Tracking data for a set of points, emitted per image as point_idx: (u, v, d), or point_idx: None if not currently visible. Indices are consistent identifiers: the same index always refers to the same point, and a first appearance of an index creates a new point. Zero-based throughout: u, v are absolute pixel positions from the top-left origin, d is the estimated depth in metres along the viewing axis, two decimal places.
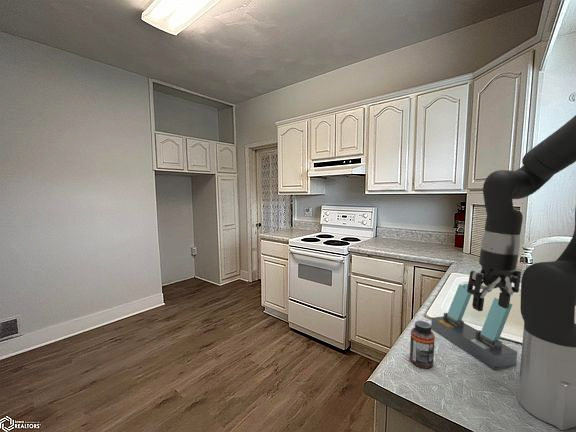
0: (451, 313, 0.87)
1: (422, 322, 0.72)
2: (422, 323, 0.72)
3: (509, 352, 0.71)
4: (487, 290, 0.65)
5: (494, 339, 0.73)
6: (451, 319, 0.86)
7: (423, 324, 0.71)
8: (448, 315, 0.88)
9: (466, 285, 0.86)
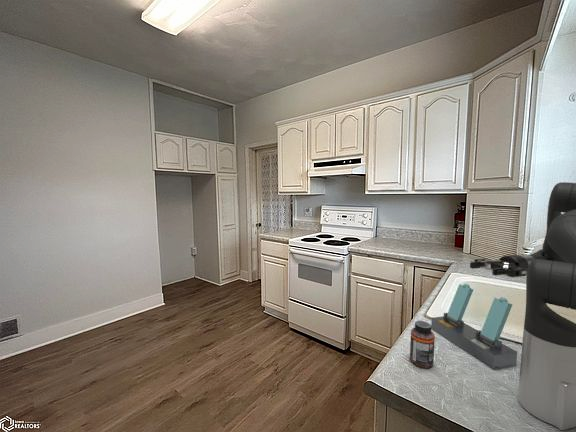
0: (451, 313, 0.87)
1: (422, 322, 0.72)
2: (422, 323, 0.72)
3: (509, 352, 0.71)
4: (485, 260, 0.93)
5: (494, 339, 0.73)
6: (451, 319, 0.86)
7: (423, 324, 0.71)
8: (448, 315, 0.88)
9: (466, 285, 0.86)
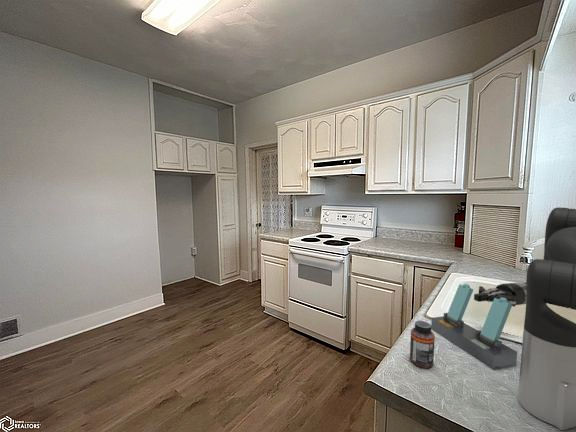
0: (451, 313, 0.87)
1: (422, 322, 0.72)
2: (422, 323, 0.72)
3: (509, 352, 0.71)
4: (487, 291, 0.91)
5: (494, 339, 0.73)
6: (451, 319, 0.86)
7: (423, 324, 0.71)
8: (448, 315, 0.88)
9: (466, 285, 0.86)
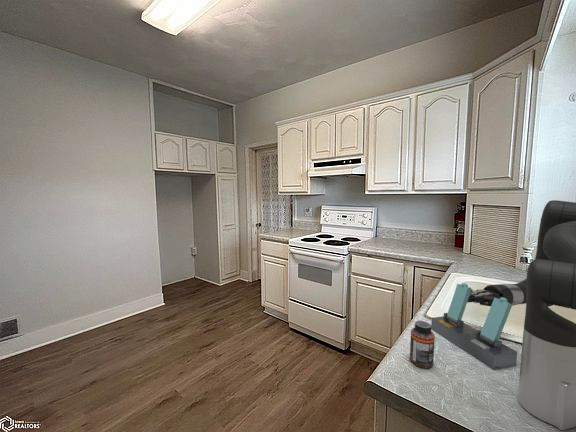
0: (451, 313, 0.87)
1: (422, 322, 0.72)
2: (422, 323, 0.72)
3: (509, 352, 0.71)
4: (474, 292, 0.89)
5: (494, 339, 0.73)
6: (451, 319, 0.86)
7: (423, 324, 0.71)
8: (447, 315, 0.88)
9: (464, 284, 0.86)
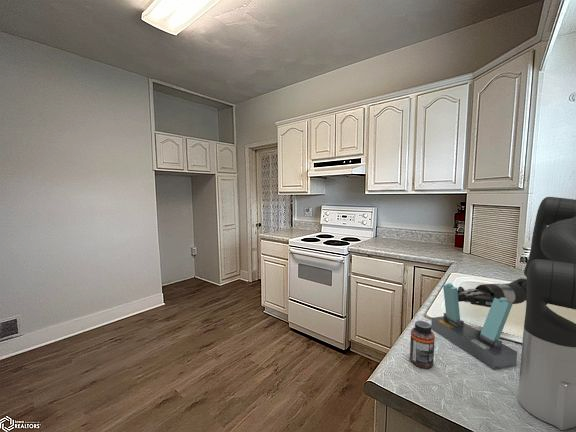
0: (449, 314, 0.87)
1: (422, 322, 0.72)
2: (422, 323, 0.72)
3: (509, 352, 0.71)
4: (465, 291, 0.88)
5: (494, 339, 0.73)
6: (451, 320, 0.86)
7: (423, 324, 0.71)
8: (447, 316, 0.88)
9: (449, 286, 0.85)
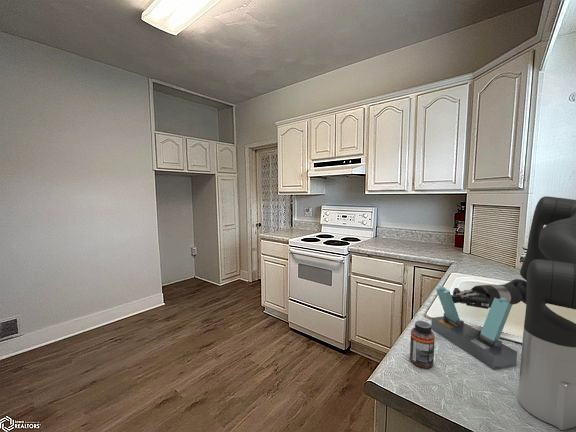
0: (448, 315, 0.87)
1: (422, 322, 0.72)
2: (422, 323, 0.72)
3: (509, 352, 0.71)
4: (461, 292, 0.88)
5: (494, 339, 0.73)
6: (451, 321, 0.87)
7: (423, 324, 0.71)
8: (446, 317, 0.88)
9: (441, 290, 0.84)
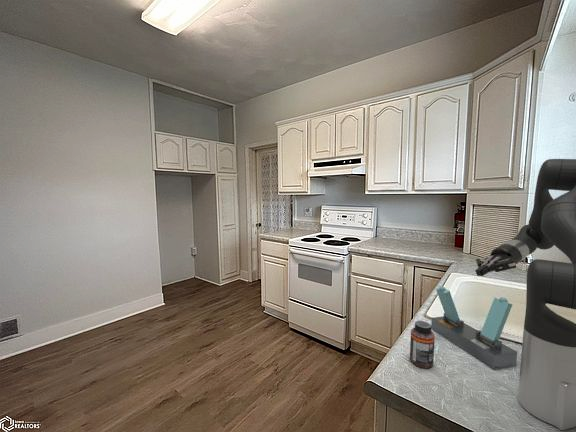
0: (448, 315, 0.87)
1: (422, 322, 0.72)
2: (422, 323, 0.72)
3: (509, 352, 0.71)
4: (485, 261, 0.89)
5: (494, 339, 0.73)
6: (451, 321, 0.87)
7: (423, 324, 0.71)
8: (446, 317, 0.88)
9: (441, 290, 0.84)
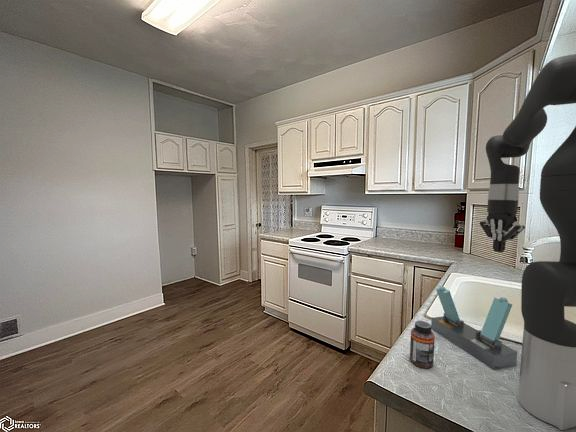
0: (448, 315, 0.87)
1: (422, 322, 0.72)
2: (422, 323, 0.72)
3: (509, 352, 0.71)
4: (493, 232, 0.84)
5: (494, 339, 0.73)
6: (451, 321, 0.87)
7: (423, 324, 0.71)
8: (446, 317, 0.88)
9: (441, 290, 0.84)
